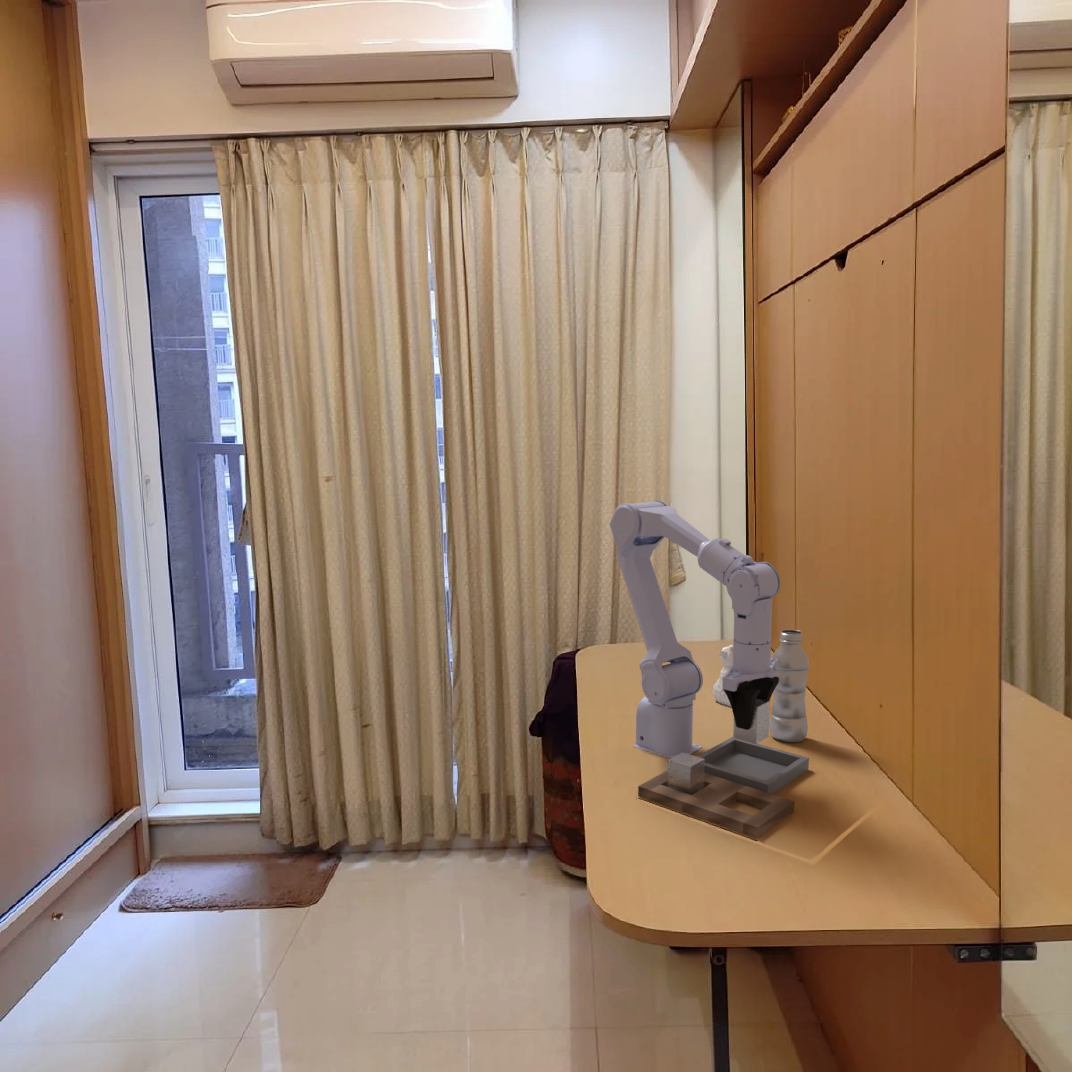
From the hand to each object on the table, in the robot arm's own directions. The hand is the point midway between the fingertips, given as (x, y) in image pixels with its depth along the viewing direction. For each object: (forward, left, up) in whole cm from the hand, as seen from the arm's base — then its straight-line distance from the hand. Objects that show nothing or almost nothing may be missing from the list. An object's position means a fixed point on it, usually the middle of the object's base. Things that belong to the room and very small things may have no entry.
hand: (750, 724), depth 134 cm
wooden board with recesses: (+1, -11, -10) cm, 15 cm away
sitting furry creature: (-21, +33, -10) cm, 40 cm away
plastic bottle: (-3, +21, -10) cm, 23 cm away
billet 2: (0, 0, -2) cm, 2 cm away
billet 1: (-4, -11, -10) cm, 16 cm away
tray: (-1, +3, -10) cm, 10 cm away
